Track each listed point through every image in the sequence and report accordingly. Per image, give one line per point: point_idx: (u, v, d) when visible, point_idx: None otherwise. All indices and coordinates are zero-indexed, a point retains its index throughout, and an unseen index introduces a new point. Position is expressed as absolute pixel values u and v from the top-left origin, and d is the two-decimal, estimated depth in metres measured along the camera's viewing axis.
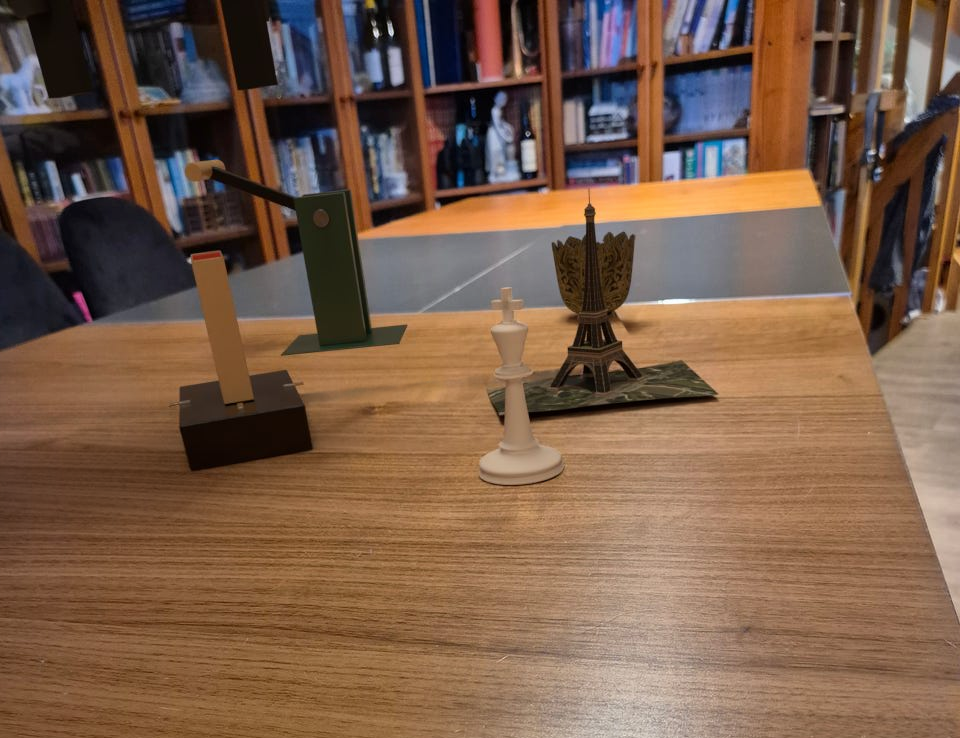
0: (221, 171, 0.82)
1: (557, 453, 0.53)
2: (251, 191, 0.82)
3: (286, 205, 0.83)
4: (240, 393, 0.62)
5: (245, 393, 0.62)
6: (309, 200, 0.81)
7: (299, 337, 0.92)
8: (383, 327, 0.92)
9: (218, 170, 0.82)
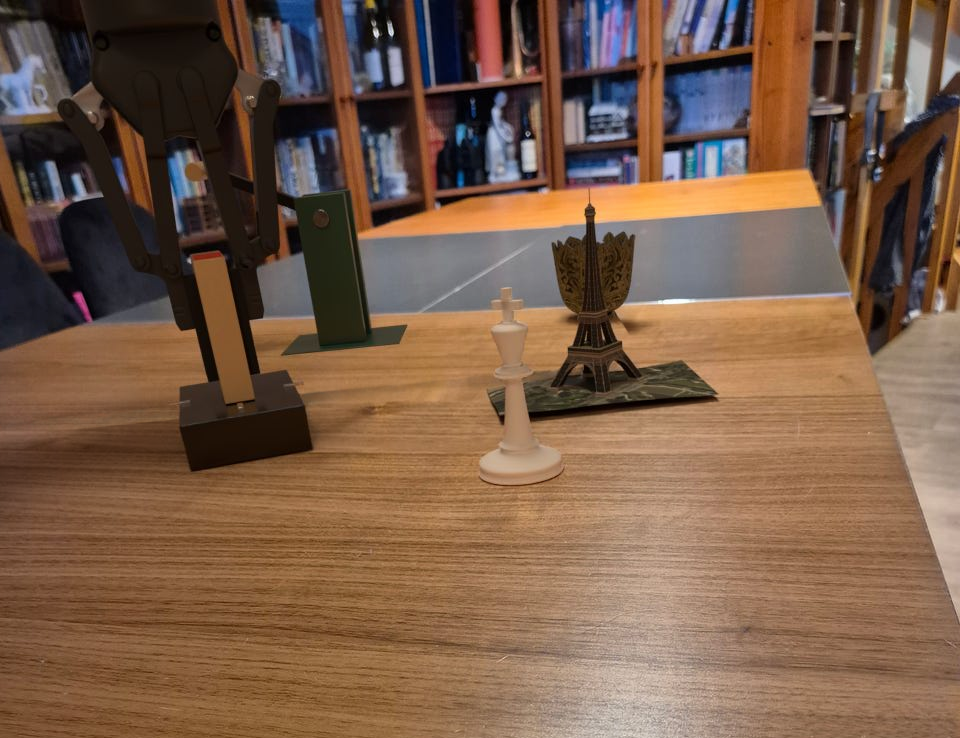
0: None
1: (557, 453, 0.53)
2: (251, 191, 0.82)
3: (286, 205, 0.83)
4: (241, 393, 0.62)
5: (246, 393, 0.62)
6: (309, 200, 0.81)
7: (299, 337, 0.92)
8: (383, 327, 0.92)
9: None
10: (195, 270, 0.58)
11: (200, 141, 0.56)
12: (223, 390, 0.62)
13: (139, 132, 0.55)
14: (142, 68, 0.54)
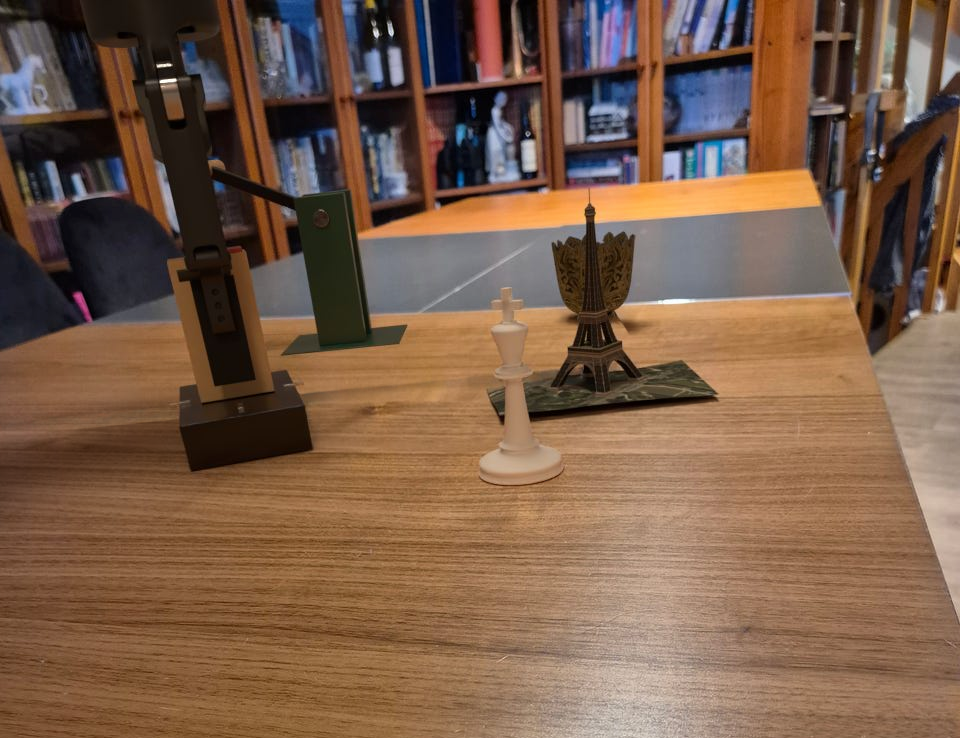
0: (221, 171, 0.82)
1: (557, 453, 0.53)
2: (251, 191, 0.82)
3: (286, 205, 0.83)
4: None
5: None
6: (309, 200, 0.81)
7: (299, 337, 0.92)
8: (383, 327, 0.92)
9: (218, 170, 0.82)
10: (247, 260, 0.60)
11: None
12: (271, 377, 0.64)
13: None
14: None
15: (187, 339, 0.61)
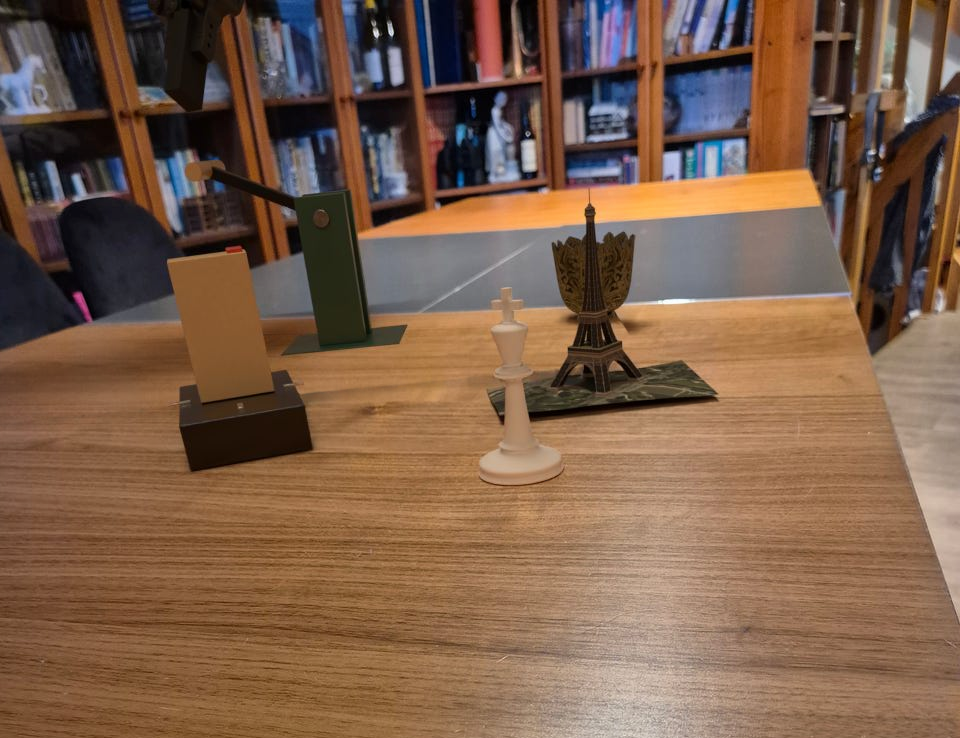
0: (221, 171, 0.82)
1: (557, 453, 0.53)
2: (251, 191, 0.82)
3: (286, 205, 0.83)
4: None
5: None
6: (309, 200, 0.81)
7: (299, 337, 0.92)
8: (383, 327, 0.92)
9: (218, 170, 0.82)
10: (247, 260, 0.60)
11: None
12: (271, 377, 0.64)
13: None
14: None
15: (187, 339, 0.61)
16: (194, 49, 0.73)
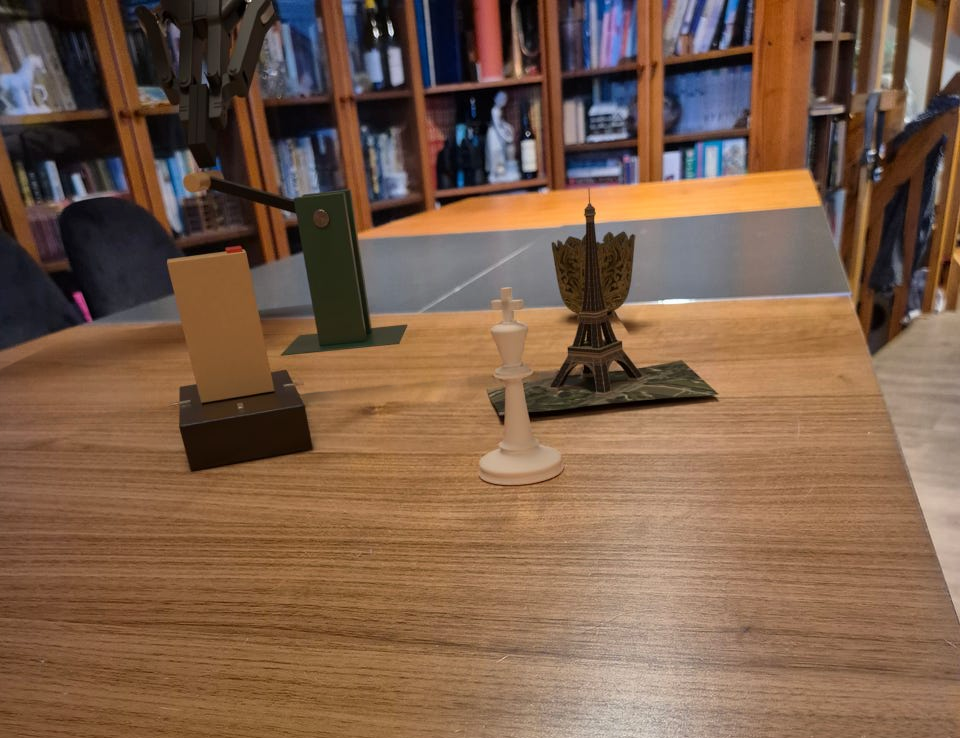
0: (219, 180, 0.82)
1: (557, 453, 0.53)
2: (250, 197, 0.82)
3: (286, 208, 0.83)
4: None
5: None
6: (309, 200, 0.81)
7: (299, 337, 0.92)
8: (383, 327, 0.92)
9: (216, 179, 0.82)
10: (247, 260, 0.60)
11: (204, 48, 0.87)
12: (271, 377, 0.64)
13: (232, 29, 0.86)
14: None
15: (187, 339, 0.61)
16: (213, 115, 0.82)
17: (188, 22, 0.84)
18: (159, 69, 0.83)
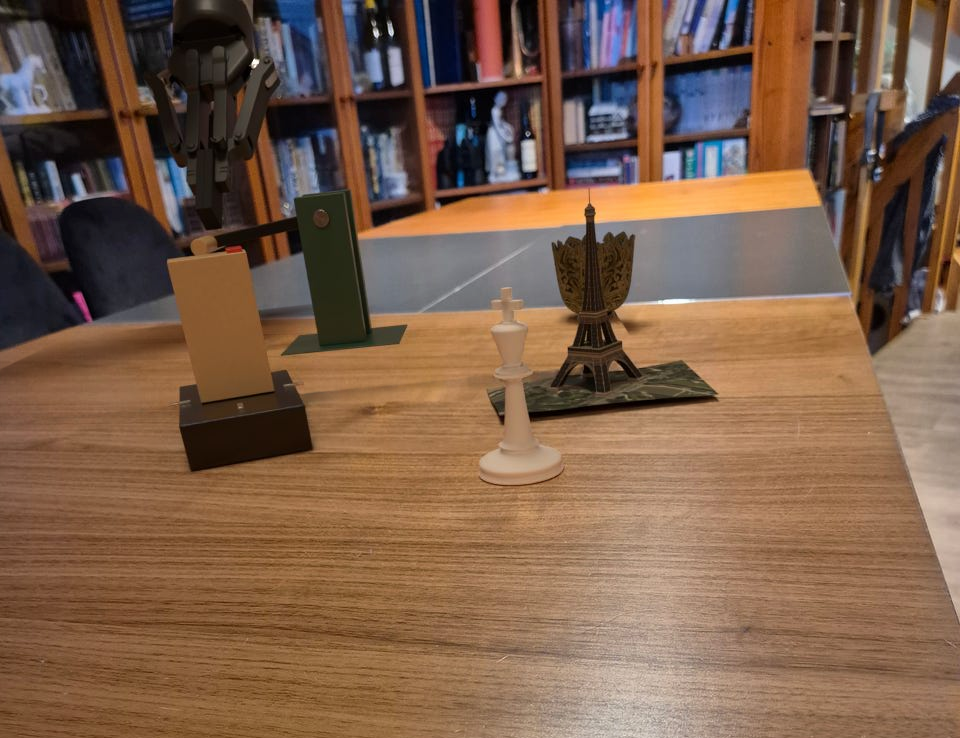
0: (223, 235, 0.84)
1: (557, 453, 0.53)
2: (255, 235, 0.84)
3: (289, 228, 0.84)
4: None
5: None
6: (309, 200, 0.81)
7: (299, 337, 0.92)
8: (383, 327, 0.92)
9: (220, 235, 0.84)
10: (247, 260, 0.60)
11: (210, 111, 0.90)
12: (271, 377, 0.64)
13: (237, 93, 0.89)
14: None
15: (187, 339, 0.61)
16: (219, 180, 0.84)
17: (195, 88, 0.87)
18: (167, 134, 0.86)
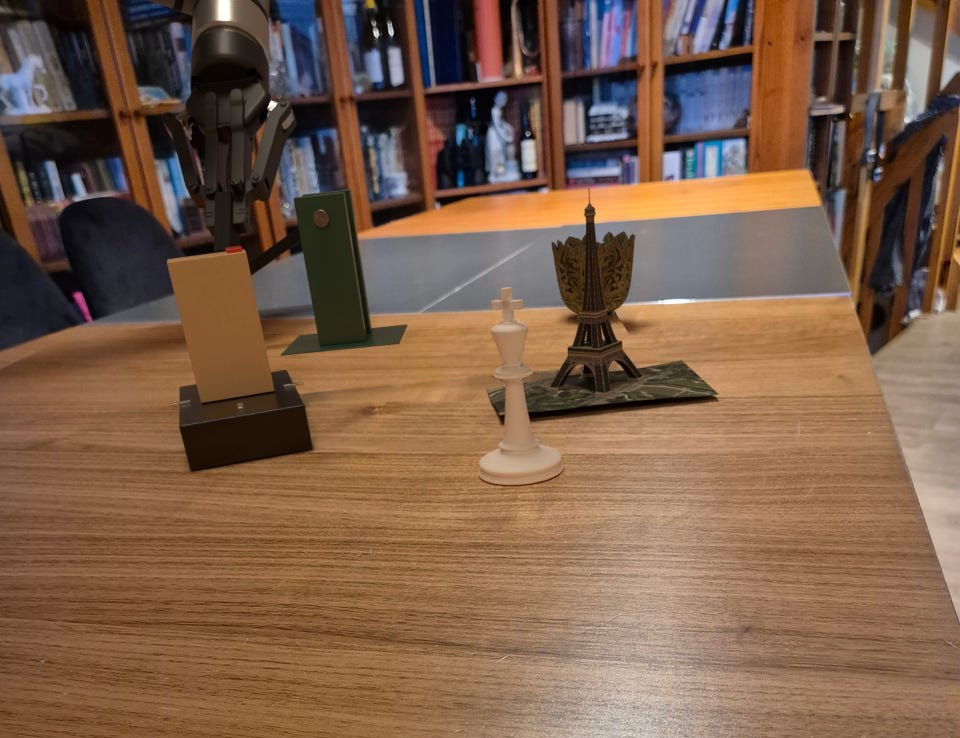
0: None
1: (557, 453, 0.53)
2: (267, 260, 0.85)
3: (296, 241, 0.84)
4: None
5: None
6: (309, 200, 0.81)
7: (299, 337, 0.92)
8: (383, 327, 0.92)
9: None
10: (247, 260, 0.60)
11: (227, 151, 0.91)
12: (271, 377, 0.64)
13: (254, 134, 0.91)
14: None
15: (187, 339, 0.61)
16: (237, 221, 0.86)
17: (213, 130, 0.88)
18: (186, 176, 0.87)
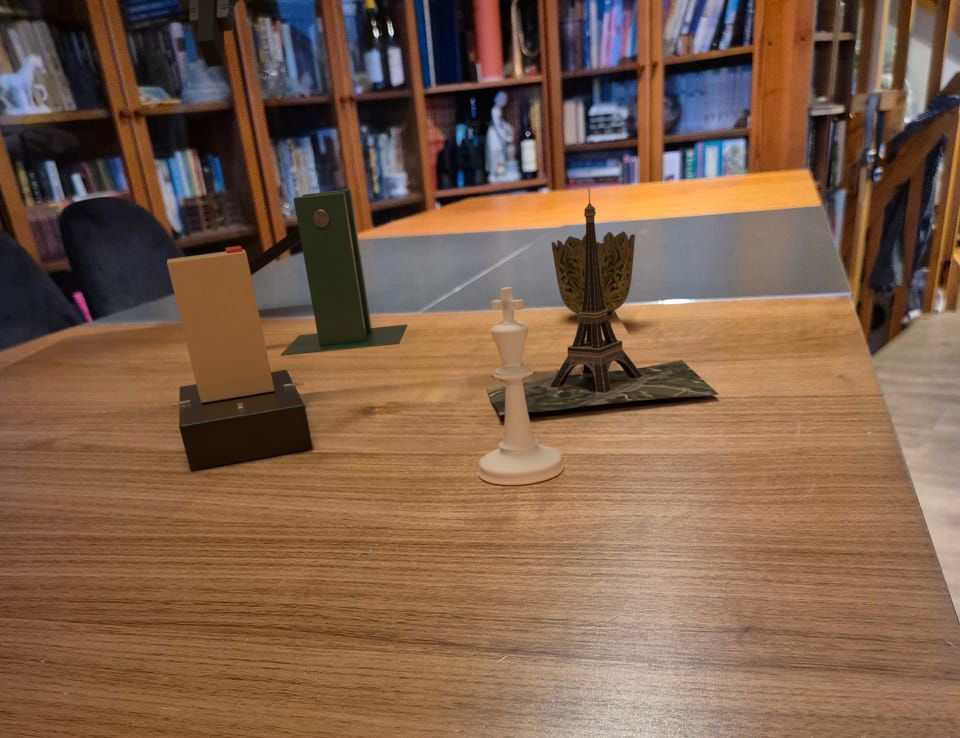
0: None
1: (557, 453, 0.53)
2: (267, 260, 0.85)
3: (296, 241, 0.84)
4: None
5: None
6: (309, 200, 0.81)
7: (299, 337, 0.92)
8: (383, 327, 0.92)
9: None
10: (247, 260, 0.60)
11: None
12: (271, 377, 0.64)
13: None
14: None
15: (187, 339, 0.61)
16: (220, 16, 0.87)
17: None
18: None
